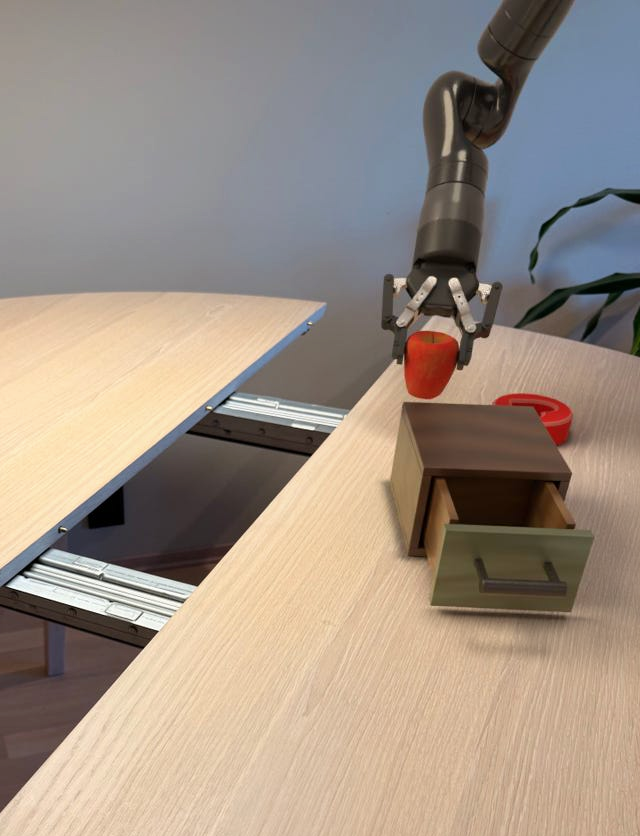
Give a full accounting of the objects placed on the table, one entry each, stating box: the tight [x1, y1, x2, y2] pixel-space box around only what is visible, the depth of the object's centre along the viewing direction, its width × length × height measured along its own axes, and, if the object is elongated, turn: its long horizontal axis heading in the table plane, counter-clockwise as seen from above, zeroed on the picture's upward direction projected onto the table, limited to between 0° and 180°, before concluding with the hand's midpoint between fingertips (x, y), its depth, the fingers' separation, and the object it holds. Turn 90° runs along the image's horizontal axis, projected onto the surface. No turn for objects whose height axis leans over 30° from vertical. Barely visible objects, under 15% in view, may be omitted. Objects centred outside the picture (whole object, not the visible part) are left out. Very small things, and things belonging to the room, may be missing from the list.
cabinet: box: [389, 401, 573, 557], centre depth 102 cm, size 16×14×10 cm
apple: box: [403, 330, 460, 400], centre depth 117 cm, size 6×6×8 cm
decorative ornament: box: [491, 392, 574, 446], centre depth 122 cm, size 10×10×3 cm
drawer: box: [421, 476, 595, 613], centre depth 91 cm, size 19×13×8 cm, turn 176°
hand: (430, 364), depth 115 cm, fingers closed on apple, 6 cm apart
